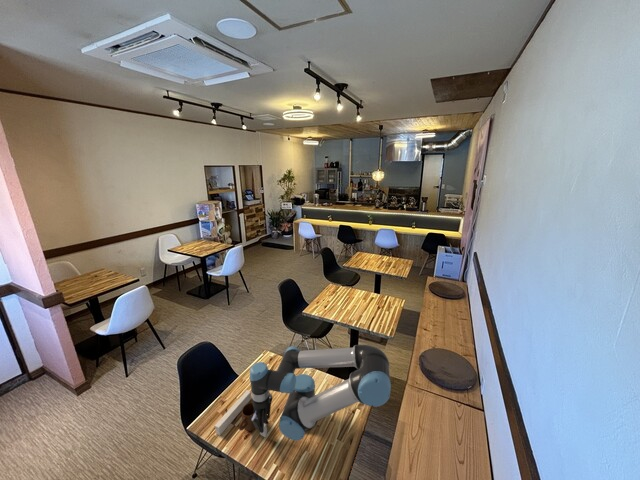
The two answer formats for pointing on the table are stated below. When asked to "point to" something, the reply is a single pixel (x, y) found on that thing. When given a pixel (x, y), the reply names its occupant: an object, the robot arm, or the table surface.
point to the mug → (247, 417)
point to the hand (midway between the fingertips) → (263, 434)
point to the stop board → (232, 413)
